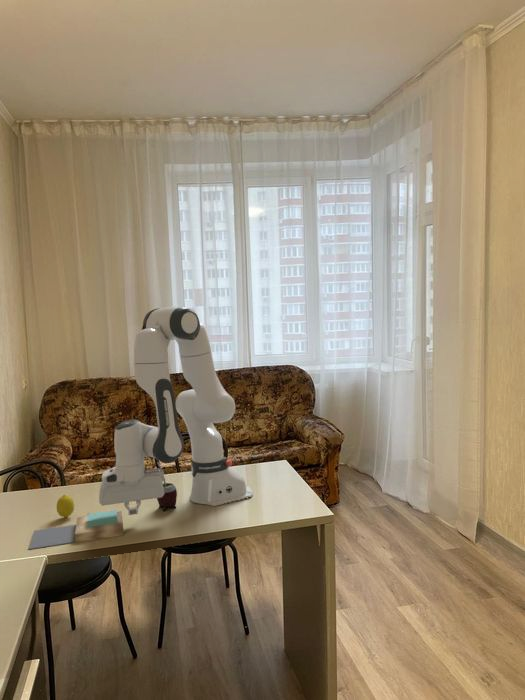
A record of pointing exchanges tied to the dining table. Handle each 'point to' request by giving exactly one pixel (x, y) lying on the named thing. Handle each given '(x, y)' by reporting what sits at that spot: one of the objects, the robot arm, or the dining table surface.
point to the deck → (97, 529)
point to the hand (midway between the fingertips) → (133, 514)
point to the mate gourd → (168, 495)
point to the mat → (53, 537)
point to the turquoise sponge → (102, 518)
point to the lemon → (65, 506)
